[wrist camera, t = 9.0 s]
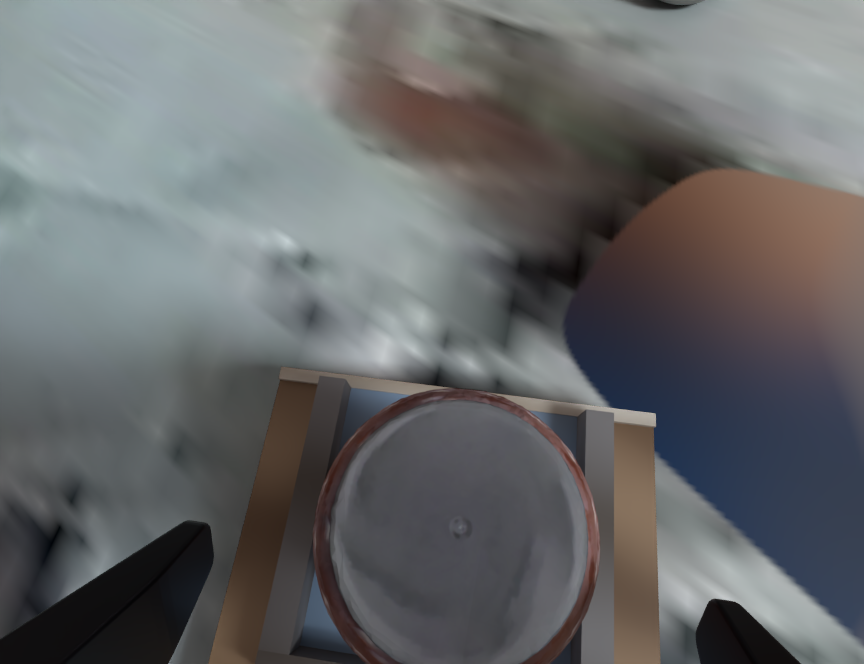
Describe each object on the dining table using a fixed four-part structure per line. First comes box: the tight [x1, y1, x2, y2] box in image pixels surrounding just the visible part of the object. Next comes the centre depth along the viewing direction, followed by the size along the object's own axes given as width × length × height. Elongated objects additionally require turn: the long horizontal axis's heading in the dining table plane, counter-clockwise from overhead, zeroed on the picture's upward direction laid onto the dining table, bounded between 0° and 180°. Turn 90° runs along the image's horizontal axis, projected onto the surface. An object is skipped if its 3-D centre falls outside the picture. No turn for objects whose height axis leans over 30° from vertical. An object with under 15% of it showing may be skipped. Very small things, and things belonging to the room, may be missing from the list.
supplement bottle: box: [313, 388, 600, 664], centre depth 13 cm, size 6×6×11 cm
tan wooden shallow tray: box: [208, 367, 660, 664], centre depth 18 cm, size 13×15×4 cm
